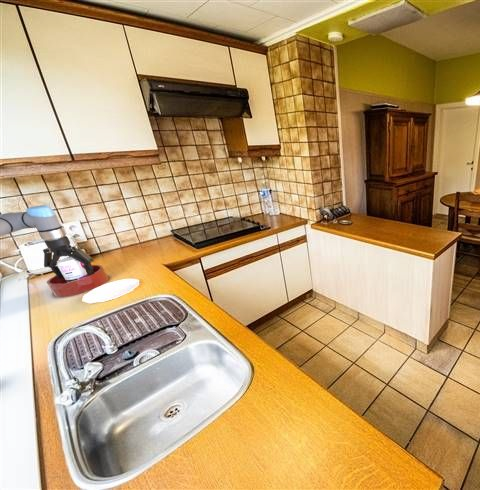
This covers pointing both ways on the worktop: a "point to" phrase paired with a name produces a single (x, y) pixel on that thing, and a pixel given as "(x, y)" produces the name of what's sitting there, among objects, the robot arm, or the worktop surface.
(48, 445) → the worktop surface
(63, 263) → the supplement can
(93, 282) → the red round shallow bowl
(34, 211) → the robot arm
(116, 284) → the plate
